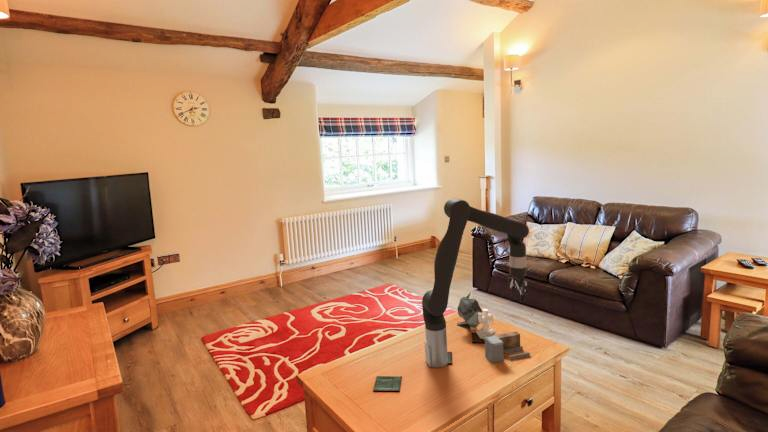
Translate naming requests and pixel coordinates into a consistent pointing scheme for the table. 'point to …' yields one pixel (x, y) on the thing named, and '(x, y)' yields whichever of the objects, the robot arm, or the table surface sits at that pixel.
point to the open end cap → (516, 354)
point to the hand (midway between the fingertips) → (517, 298)
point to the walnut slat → (509, 339)
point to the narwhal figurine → (469, 312)
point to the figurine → (485, 324)
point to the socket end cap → (494, 349)
